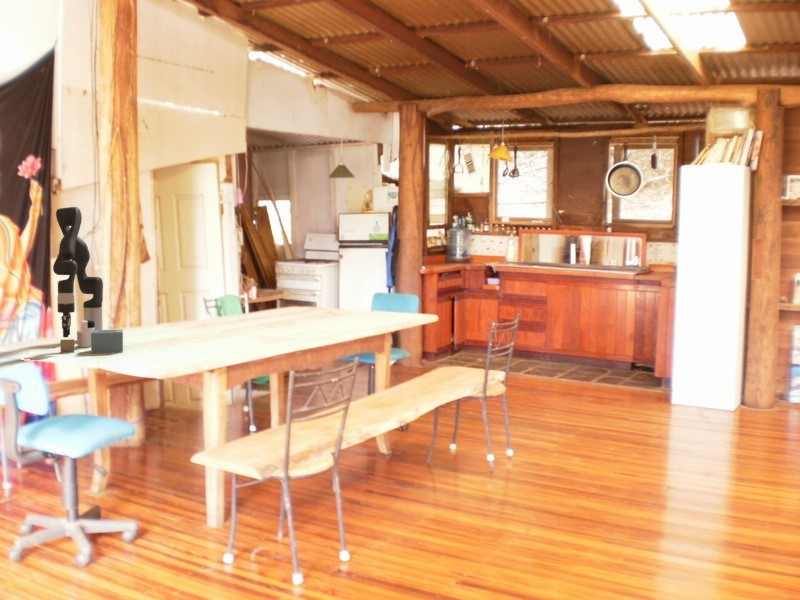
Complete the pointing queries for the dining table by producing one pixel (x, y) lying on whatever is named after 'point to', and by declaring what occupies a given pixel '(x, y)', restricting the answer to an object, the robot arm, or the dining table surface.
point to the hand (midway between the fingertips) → (66, 336)
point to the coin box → (107, 341)
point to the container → (85, 333)
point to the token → (67, 345)
